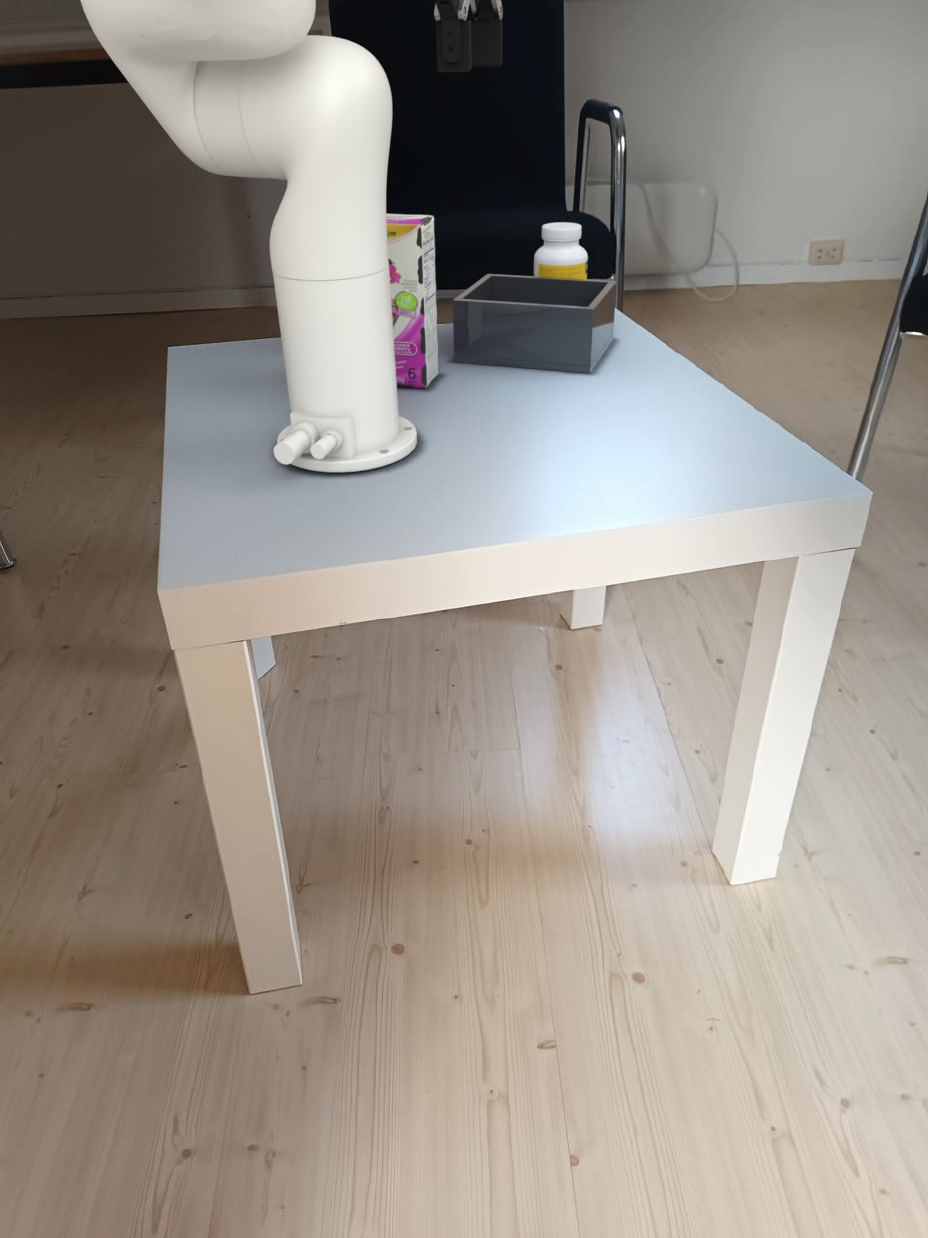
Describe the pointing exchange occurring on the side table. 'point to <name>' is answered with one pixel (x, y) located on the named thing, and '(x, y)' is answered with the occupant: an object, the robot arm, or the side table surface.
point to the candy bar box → (413, 298)
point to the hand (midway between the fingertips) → (471, 68)
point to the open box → (534, 322)
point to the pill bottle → (561, 252)
